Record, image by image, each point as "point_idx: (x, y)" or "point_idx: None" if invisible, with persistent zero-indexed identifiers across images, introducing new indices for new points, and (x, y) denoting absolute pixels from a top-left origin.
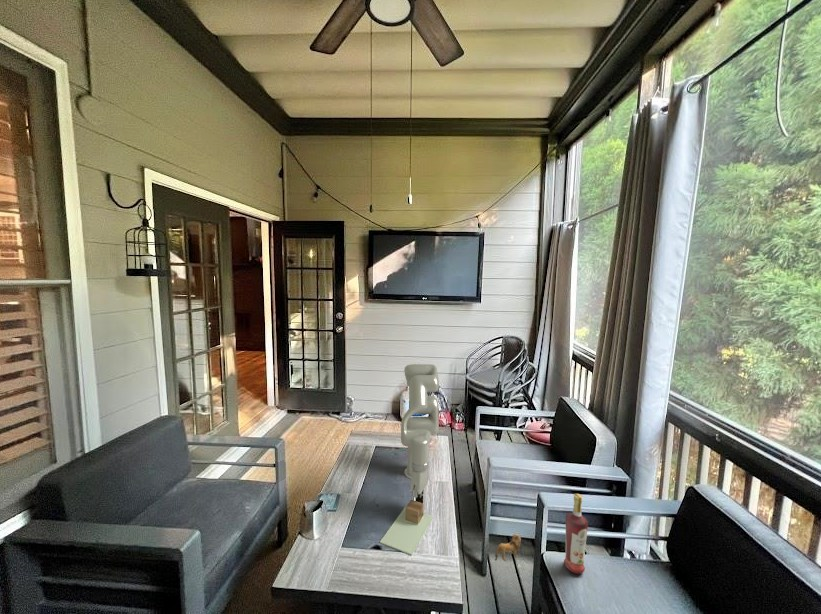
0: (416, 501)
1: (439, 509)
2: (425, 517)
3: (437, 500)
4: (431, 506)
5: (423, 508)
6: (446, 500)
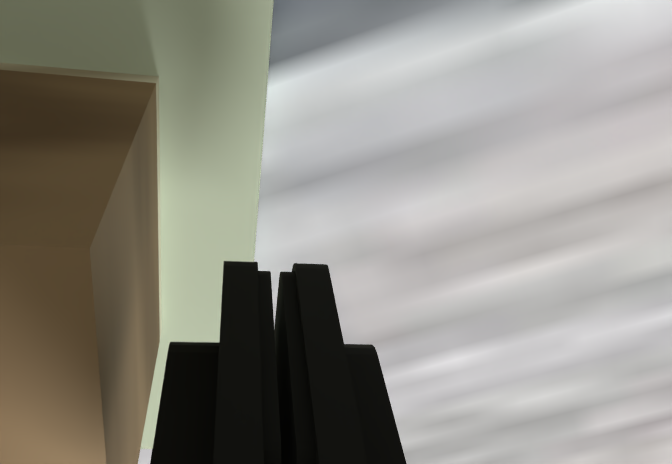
0: (97, 423)
1: (450, 442)
2: None
3: (657, 367)
4: (494, 336)
5: (136, 460)
6: (664, 458)
